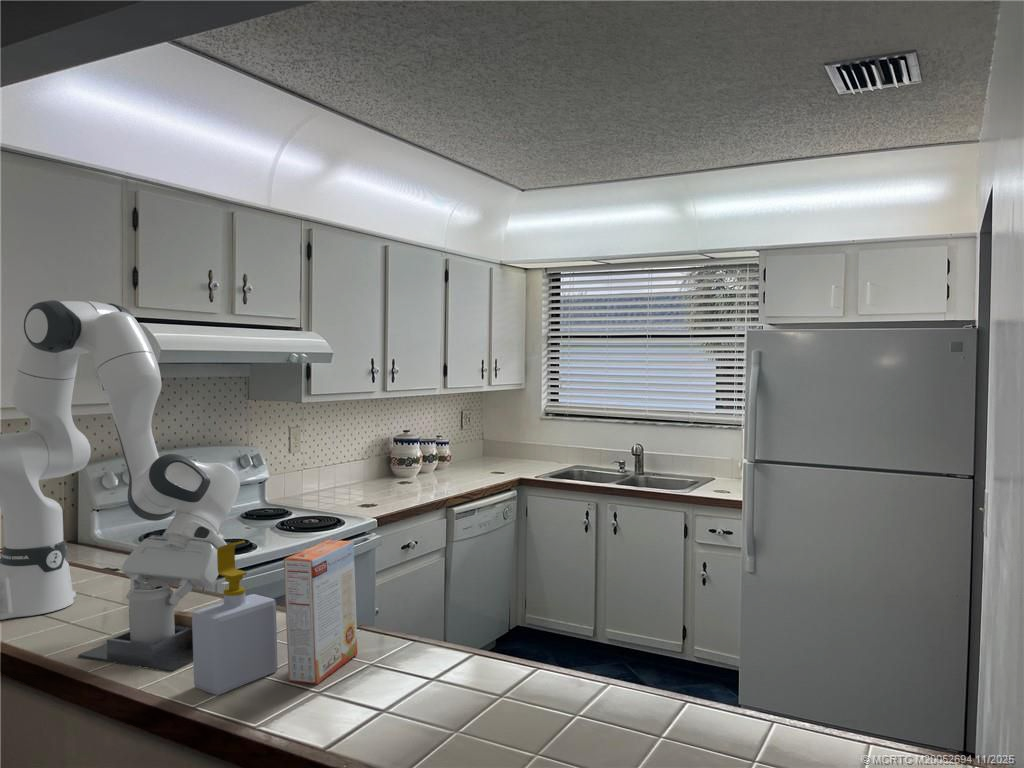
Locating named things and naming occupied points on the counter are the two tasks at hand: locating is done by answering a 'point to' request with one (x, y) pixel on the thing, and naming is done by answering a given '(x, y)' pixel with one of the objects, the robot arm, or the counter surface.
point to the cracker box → (320, 610)
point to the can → (151, 613)
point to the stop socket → (148, 651)
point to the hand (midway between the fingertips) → (150, 601)
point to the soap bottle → (233, 634)
